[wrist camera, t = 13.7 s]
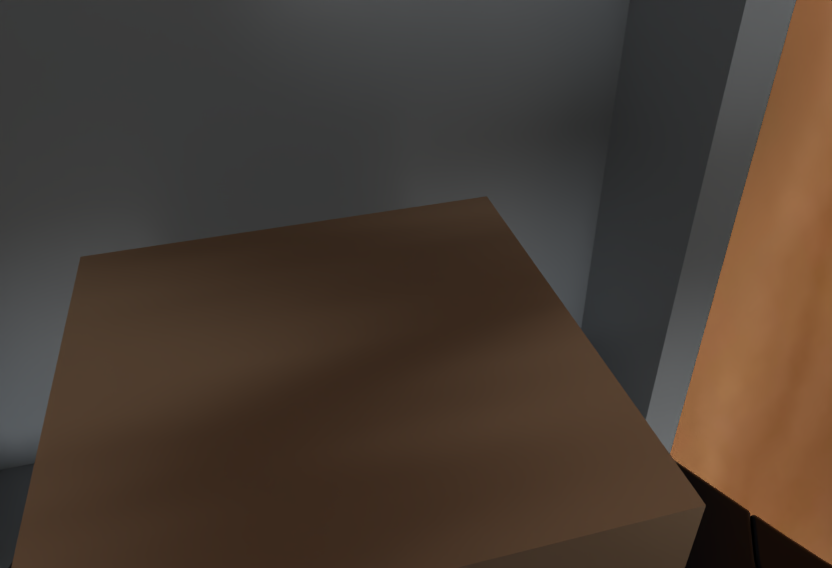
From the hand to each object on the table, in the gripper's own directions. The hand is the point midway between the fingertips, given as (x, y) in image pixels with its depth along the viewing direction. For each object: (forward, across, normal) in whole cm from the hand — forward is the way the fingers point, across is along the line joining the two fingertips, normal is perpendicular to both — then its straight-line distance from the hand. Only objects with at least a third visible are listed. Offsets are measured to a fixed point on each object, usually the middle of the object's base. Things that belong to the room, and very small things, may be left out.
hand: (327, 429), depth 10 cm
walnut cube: (+1, 0, 0) cm, 1 cm away
